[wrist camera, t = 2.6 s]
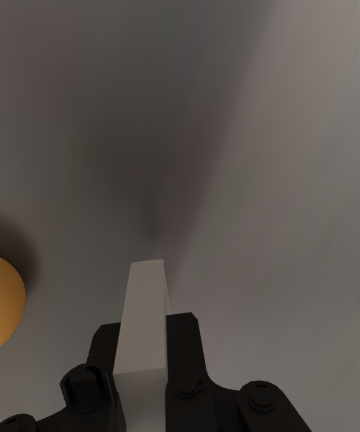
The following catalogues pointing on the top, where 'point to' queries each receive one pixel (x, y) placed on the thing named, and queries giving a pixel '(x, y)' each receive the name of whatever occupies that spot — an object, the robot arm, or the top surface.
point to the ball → (10, 300)
